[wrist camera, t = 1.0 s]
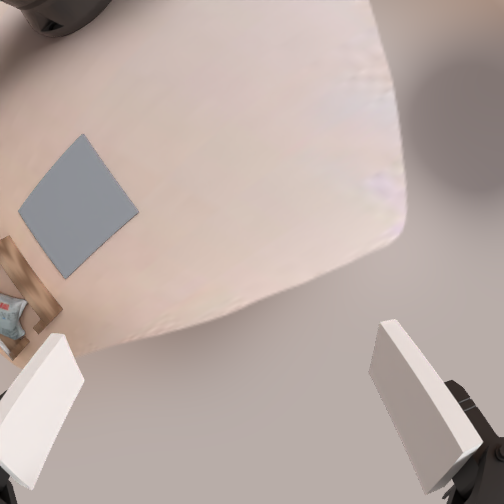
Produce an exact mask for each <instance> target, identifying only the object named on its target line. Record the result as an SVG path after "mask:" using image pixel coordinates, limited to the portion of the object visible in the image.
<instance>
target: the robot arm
mask: <svg viewBox="0 0 504 504" xmlns="http://www.w3.org/2000/svg"><path fill="white" fill-rule="evenodd" d="M0 1H2V2H4V3H6V4H9V5H11V6H13V7H16V8H18V9H20V10H21V12H22V13H23V15H24V16H25V18H26V19H27V21H28V22H29V24H30V25H31V27H32V28H33V29H34V30H35V31H37V32H38V33H41V34H43V35H45V36H48V37H60V36H64V35H67V34H70V33H72V32H75V31H76V30H78V29H80V28H82V27H83V26H85V25H86V24H88V23H89V22H90V21H92V20H93V19H94V18H95V17H97V16H98V15H99V14H100V13H101V12H102V11H103V10H104V9H105V8H106V6H107V5H108V4H109V3H110V2H111V0H0ZM369 374H370V376H371V378H372V380H373V382H374V384H375V386H376V388H377V390H378V393H379V395H380V397H381V398H382V401H383V403H384V405H385V407H386V409H387V411H388V413H389V415H390V417H391V419H392V422H393V424H394V426H395V428H396V430H397V432H398V434H399V437H400V438H401V441H402V443H403V445H404V447H405V449H406V452H407V454H408V456H409V459H410V461H411V463H412V465H413V468H414V470H415V472H416V475H417V477H418V479H419V481H420V484H421V486H422V489H423V491H424V493H425V495H426V494H429V493H431V492H434V491H436V490H438V489H440V488H442V487H444V486H445V485H446V484H447V483H448V482H449V481H450V480H451V479H452V480H453V482H454V485H453V486H452V487H451V488H450V489H449V490H448V491H447V492H446V493H445V494H444V496H443V497H442V499H445V498H446V497H447V496H448V495H449V498H448V501H447V504H504V437H498V436H497V435H496V433H495V432H494V431H493V429H492V428H491V426H490V425H489V423H488V422H487V420H486V419H485V417H484V416H483V414H482V413H481V412H480V410H479V409H478V407H476V405H475V403H474V402H473V400H472V399H470V396H469V395H468V393H467V392H466V391H465V389H464V388H463V387H462V386H460V385H459V384H457V383H456V382H455V381H453V380H450V381H447V382H443V381H442V380H441V378H440V377H439V376H438V374H437V373H436V371H435V370H434V369H433V367H432V366H431V364H430V363H429V362H428V361H427V359H426V358H425V356H424V355H423V354H422V352H421V351H420V350H419V348H418V347H417V346H416V344H415V343H414V342H413V341H412V339H411V338H410V337H409V335H408V334H407V333H406V332H405V330H404V329H403V328H402V326H401V325H400V324H399V323H398V321H397V320H396V319H395V320H388V321H382V322H380V323H379V328H378V333H377V337H376V342H375V347H374V352H373V356H372V361H371V364H370V369H369ZM84 381H85V380H84V378H83V376H82V374H81V372H80V369H79V367H78V365H77V364H76V361H75V358H74V356H73V354H72V352H71V349H70V347H69V344H68V342H67V340H66V337H65V335H64V334H58V333H51V334H50V336H49V337H48V338H47V339H46V341H45V342H44V343H43V344H42V345H41V347H40V348H39V349H38V350H37V352H36V353H35V354H34V356H33V357H32V358H31V359H30V361H29V362H28V363H27V365H26V366H25V367H24V369H23V370H22V371H21V373H20V374H19V375H18V377H17V378H16V379H15V381H14V382H13V383H12V385H11V386H10V388H9V389H8V390H6V391H5V392H4V393H3V394H1V395H0V504H17V501H16V497H15V493H14V490H13V486H12V484H11V482H10V481H9V480H8V479H9V477H10V476H11V477H12V478H13V479H14V480H15V481H16V482H17V483H18V484H20V485H22V486H24V487H26V488H28V489H31V490H33V488H34V486H35V483H36V481H37V479H38V476H39V474H40V472H41V469H42V467H43V465H44V462H45V460H46V458H47V456H48V453H49V451H50V449H51V447H52V445H53V443H54V440H55V438H56V436H57V434H58V432H59V430H60V428H61V426H62V424H63V422H64V420H65V418H66V416H67V414H68V412H69V410H70V408H71V406H72V404H73V402H74V400H75V398H76V396H77V395H78V393H79V391H80V389H81V387H82V385H83V383H84Z"/></svg>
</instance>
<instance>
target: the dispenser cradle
mask: <svg viewBox="0 0 504 504" xmlns="http://www.w3.org/2000/svg"><path fill="white" fill-rule="evenodd" d="M0 264H1V266H2V267H3V269H4V270H5V272H6V273H7V274H8V276H9V277H10V279H11V280H12V282H13V283H14V285H15V286H16V287H17V289H18V290H19V291H20V293H21V294H22V296H23V297H24V298H25V299H26V301H27V302H28V303H29V305H30V306H31V307H32V309H33V310H34V311H35V312H36V314H37V315H38V316H39V317H40V318H41V320H40V321H39V322H38V323H37V324H36V325H35V326H34V327H33V329H34V330H35V331H36V332H37V333H38V334H39V333H40V332H41V331H42V330H43V329H44V328H45V327H46V326H47V325H48V324H49V323H50V322H51V321H52V320H53V319H54V318H55V317H56V316H57V315H58V314H59V312H60V311H61V310H62V307H61V306H60V305H59V304H58V303H57V301H56V300H55V299H54V298H53V296H52V295H51V294H50V293H49V291H48V290H47V289H46V287H45V286H44V285H43V283H42V282H41V281H40V279H39V278H38V277H37V275H36V274H35V273H34V271H33V270H32V268H31V267H30V266H29V264H28V263H27V261H26V260H25V258H24V257H23V256H22V254H21V253H20V251H19V250H18V248H17V247H16V245H15V243H14V242H13V240H12V239H11V237H10V236H7V237H5V238H3V239H1V240H0ZM28 343H29V340H28V339H27V338H26V337H24V338H23V339H22V340H21V339H20V338H19V339H16V340H14V339H11V338H9V337H6V336H4V335H2V334H0V347H1V348H2V349H3V350H4V351H5V353H6V354H7V355H8V356H9V357H10V358H11V360H12V361H13V360H14V359H15V358H16V357H17V355H18V354H19V353H20V352H21V351H22V350H23V348H24V347H25V346H26V345H27V344H28Z"/></svg>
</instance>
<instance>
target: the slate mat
mask: <svg viewBox="0 0 504 504" xmlns="http://www.w3.org/2000/svg"><path fill="white" fill-rule="evenodd" d="M18 212H19V213H20V215H21V216H22V218H23V220H24V221H25V223H26V224H27V226H28V228H29V229H30V231H31V232H32V234H33V235H34V237H35V238H36V240H37V241H38V243H39V244H40V245H41V247H42V248H43V250H44V251H45V253H46V254H47V255H48V257H49V258H50V259H51V261H52V262H53V264H54V265H55V266H56V268H57V269H58V270H59V272H60V273H61V274H62V275H63V277H64V278H65V279H66V278H68V277H69V276H70V275H71V274H72V273H73V272H74V271H75V270H76V269H77V268H78V267H79V266H80V265H81V264H82V263H83V262H84V261H85V260H86V259H87V258H88V257H89V256H90V255H91V254H92V253H93V252H94V251H95V250H97V249H98V248H99V247H100V246H101V245H102V244H103V243H104V242H105V241H106V240H107V239H109V238H110V237H111V236H112V235H113V234H114V233H115V232H116V231H117V230H119V229H120V228H121V227H122V226H123V225H124V224H125V223H127V222H128V221H129V220H130V219H131V218H132V217H134V216H135V215H136V214H137V213H138V212H139V211H138V210H137V208H136V207H135V206H134V204H133V203H132V202H131V200H130V199H129V197H128V196H127V195H126V193H125V192H124V191H123V189H122V188H121V187H120V185H119V184H118V182H117V181H116V180H115V178H114V177H113V175H112V174H111V173H110V171H109V170H108V168H107V167H106V165H105V164H104V163H103V161H102V160H101V158H100V157H99V155H98V154H97V153H96V151H95V150H94V148H93V147H92V145H91V144H90V142H89V141H88V139H87V138H86V136H85V135H84V134H81V136H80V137H79V138H78V139H77V140H76V141H75V142H74V143H73V144H72V145H71V146H70V147H69V148H68V149H67V150H66V152H65V153H64V154H63V155H62V156H61V157H60V158H59V159H58V161H57V162H56V163H55V164H54V165H53V166H52V168H51V169H50V170H49V171H48V172H47V174H46V175H45V176H44V177H43V179H42V180H41V181H40V182H39V184H38V185H37V186H36V187H35V189H34V190H33V191H32V193H31V194H30V195H29V197H28V198H27V199H26V201H25V202H24V203H23V205H22V206H21V208H20V209H19V210H18Z"/></svg>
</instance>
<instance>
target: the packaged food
mask: <svg viewBox="0 0 504 504" xmlns="http://www.w3.org/2000/svg"><path fill="white" fill-rule="evenodd" d="M26 304H27V301H26V300H25V299H24V300H23V299H18V298H14V297H11V296H8V295H4V294H1V293H0V334H2V335H4V336H6V337H9V338H11V339H14V340H16V339H19V338H21V336H23V335H24V334H25V330H23V329H22V327H21V324H20V321H19V318H20V316H21V314H22V311H23V309H24V307H25V306H26Z"/></svg>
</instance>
